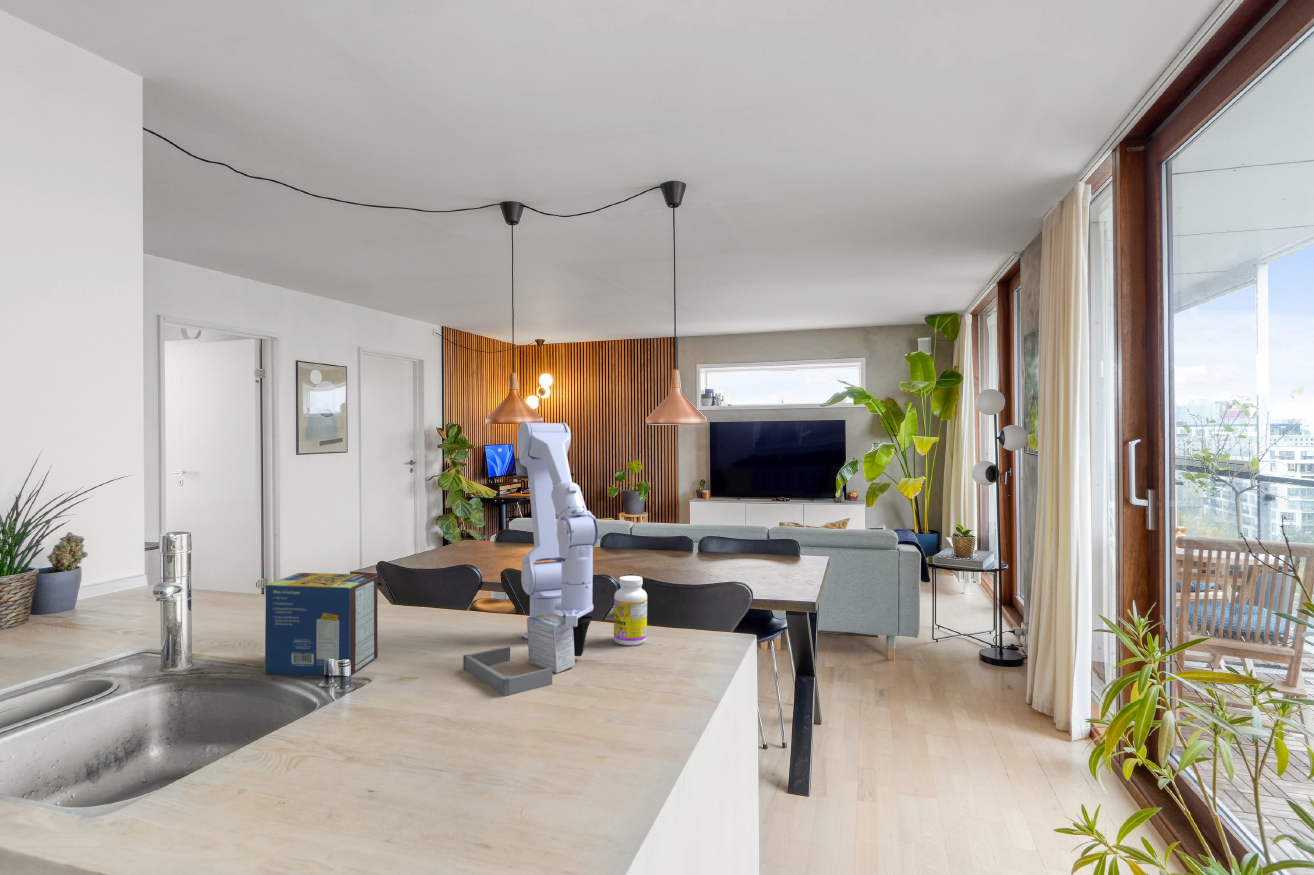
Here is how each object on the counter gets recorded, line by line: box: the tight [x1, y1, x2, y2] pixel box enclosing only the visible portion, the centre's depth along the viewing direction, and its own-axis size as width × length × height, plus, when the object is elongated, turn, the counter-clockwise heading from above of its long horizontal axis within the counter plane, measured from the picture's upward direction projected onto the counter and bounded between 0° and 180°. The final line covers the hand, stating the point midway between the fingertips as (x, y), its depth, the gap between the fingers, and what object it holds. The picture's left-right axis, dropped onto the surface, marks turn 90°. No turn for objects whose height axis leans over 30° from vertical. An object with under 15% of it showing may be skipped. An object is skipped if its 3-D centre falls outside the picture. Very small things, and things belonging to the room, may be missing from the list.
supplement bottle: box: [613, 575, 648, 647], centre depth 139 cm, size 7×7×13 cm
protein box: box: [264, 572, 379, 677], centre depth 123 cm, size 10×15×16 cm
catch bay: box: [462, 645, 553, 697], centre depth 119 cm, size 9×16×2 cm, turn 40°
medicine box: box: [526, 612, 576, 674], centre depth 124 cm, size 8×4×9 cm, turn 48°
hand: (576, 655), depth 128 cm, fingers closed
